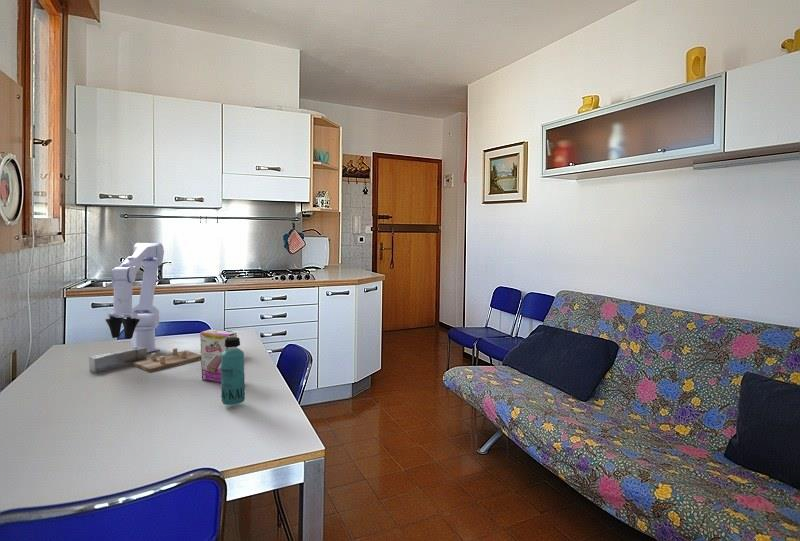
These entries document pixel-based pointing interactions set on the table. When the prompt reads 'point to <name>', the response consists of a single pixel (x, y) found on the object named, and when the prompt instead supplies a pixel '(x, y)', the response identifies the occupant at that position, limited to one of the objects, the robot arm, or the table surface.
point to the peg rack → (166, 360)
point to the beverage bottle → (232, 373)
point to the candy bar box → (213, 353)
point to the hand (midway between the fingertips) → (122, 338)
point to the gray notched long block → (117, 359)
